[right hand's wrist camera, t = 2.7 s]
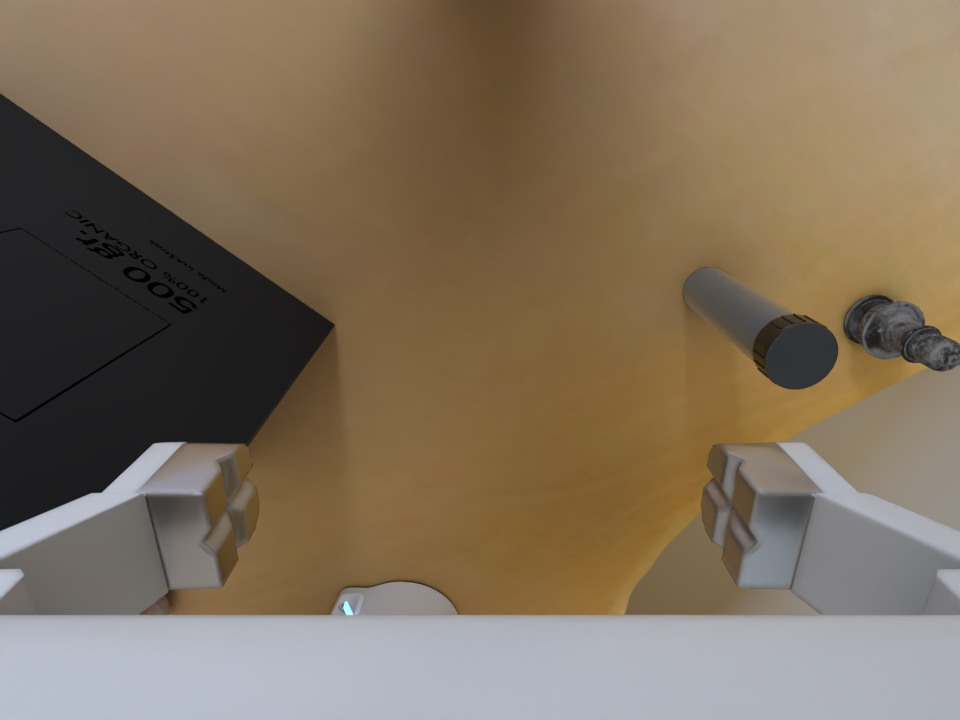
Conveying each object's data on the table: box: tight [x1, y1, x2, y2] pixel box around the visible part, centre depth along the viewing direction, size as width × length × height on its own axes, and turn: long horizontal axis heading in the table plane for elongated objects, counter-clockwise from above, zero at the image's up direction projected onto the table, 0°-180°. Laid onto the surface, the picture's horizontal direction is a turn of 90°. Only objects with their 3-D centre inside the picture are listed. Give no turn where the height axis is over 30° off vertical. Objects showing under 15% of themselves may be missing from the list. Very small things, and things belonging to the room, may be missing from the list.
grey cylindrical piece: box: [683, 267, 798, 362], centre depth 50 cm, size 5×5×18 cm
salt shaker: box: [844, 295, 960, 371], centre depth 54 cm, size 6×6×12 cm
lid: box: [752, 313, 838, 389], centre depth 42 cm, size 5×5×2 cm
